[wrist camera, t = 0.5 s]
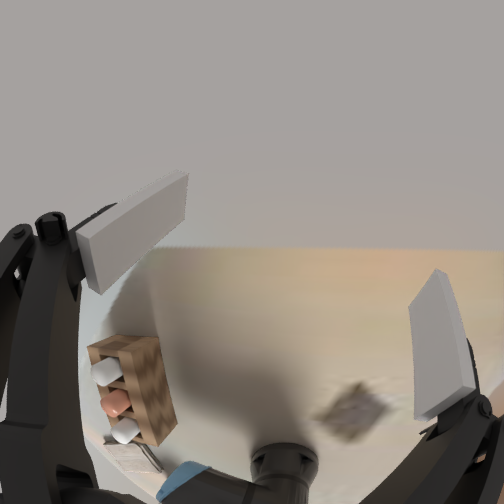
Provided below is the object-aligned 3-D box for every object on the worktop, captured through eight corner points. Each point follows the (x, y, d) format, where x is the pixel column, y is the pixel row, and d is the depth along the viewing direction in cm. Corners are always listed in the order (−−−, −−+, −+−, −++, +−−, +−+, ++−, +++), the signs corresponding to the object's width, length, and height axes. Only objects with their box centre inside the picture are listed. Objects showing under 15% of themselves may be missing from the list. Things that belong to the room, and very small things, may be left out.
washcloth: (167, 468, 54) (162, 475, 51) (127, 468, 57) (122, 473, 54) (143, 437, 55) (137, 443, 52) (105, 440, 58) (100, 445, 55)
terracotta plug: (144, 400, 48) (120, 419, 39) (128, 396, 49) (104, 414, 40) (139, 382, 48) (114, 400, 39) (123, 379, 49) (97, 395, 40)
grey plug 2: (151, 425, 48) (131, 446, 39) (136, 422, 49) (114, 441, 40) (146, 410, 48) (124, 430, 39) (131, 406, 49) (108, 424, 40)
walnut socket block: (177, 423, 52) (158, 446, 42) (136, 415, 54) (114, 434, 44) (158, 337, 52) (131, 352, 42) (115, 334, 55) (86, 346, 45)
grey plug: (136, 371, 48) (110, 388, 39) (120, 368, 49) (94, 384, 40) (132, 351, 48) (104, 366, 39) (116, 349, 49) (88, 363, 40)
